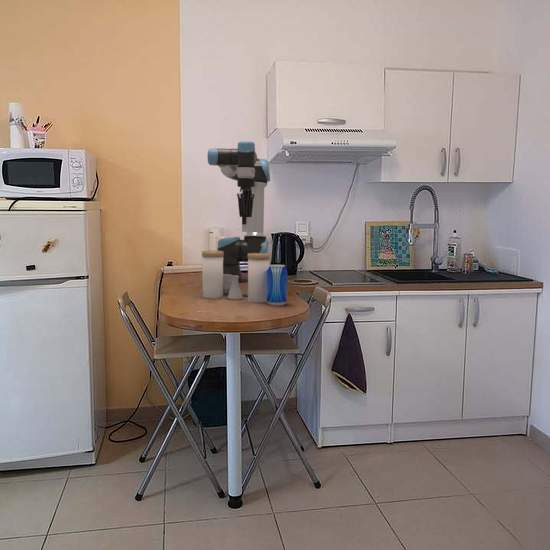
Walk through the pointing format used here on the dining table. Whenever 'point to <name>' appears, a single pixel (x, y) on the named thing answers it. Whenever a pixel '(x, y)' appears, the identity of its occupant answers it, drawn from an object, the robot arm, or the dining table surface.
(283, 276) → the beer can
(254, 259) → the canister right
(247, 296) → the kettle cord
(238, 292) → the flask
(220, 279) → the canister left
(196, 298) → the dining table surface
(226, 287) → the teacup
